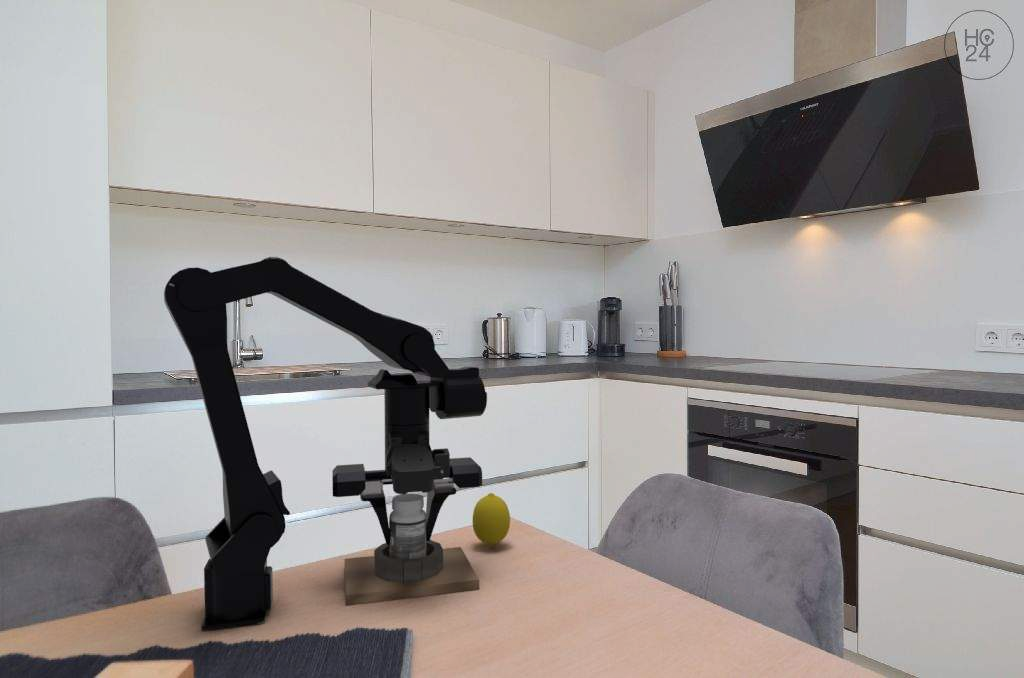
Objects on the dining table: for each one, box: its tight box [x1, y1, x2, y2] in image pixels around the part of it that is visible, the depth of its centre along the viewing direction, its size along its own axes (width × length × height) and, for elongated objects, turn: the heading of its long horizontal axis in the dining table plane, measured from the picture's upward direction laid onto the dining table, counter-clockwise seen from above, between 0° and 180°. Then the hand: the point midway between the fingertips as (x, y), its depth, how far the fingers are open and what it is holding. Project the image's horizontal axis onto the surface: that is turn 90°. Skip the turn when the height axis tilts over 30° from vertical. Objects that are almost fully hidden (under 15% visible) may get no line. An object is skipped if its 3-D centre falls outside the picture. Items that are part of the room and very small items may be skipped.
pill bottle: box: [388, 493, 426, 560], centre depth 83 cm, size 5×5×8 cm
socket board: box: [343, 539, 480, 606], centre depth 83 cm, size 16×12×4 cm
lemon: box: [472, 492, 511, 548], centre depth 94 cm, size 6×6×8 cm
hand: (407, 542), depth 83 cm, fingers closed on pill bottle, 5 cm apart
